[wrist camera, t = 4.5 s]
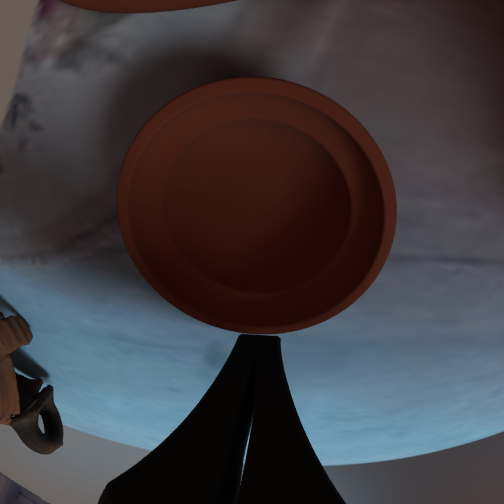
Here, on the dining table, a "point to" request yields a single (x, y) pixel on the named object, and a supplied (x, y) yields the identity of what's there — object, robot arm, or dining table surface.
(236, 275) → the pottery
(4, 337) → the broken clay jug rim
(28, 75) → the dining table surface
